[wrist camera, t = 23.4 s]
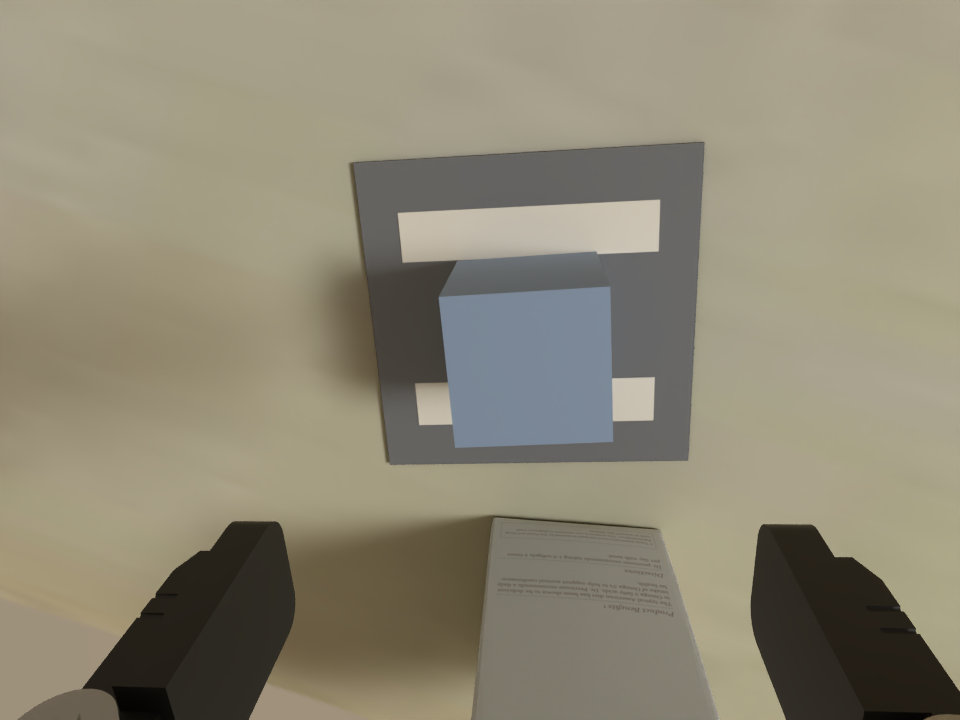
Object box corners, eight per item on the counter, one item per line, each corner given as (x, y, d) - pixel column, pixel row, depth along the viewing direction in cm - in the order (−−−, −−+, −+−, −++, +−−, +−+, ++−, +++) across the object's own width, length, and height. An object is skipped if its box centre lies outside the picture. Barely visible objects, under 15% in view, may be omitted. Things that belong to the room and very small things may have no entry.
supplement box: (482, 648, 31) (448, 978, 19) (491, 510, 29) (458, 796, 17) (644, 664, 31) (710, 1012, 19) (669, 526, 28) (762, 830, 16)
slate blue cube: (457, 260, 25) (438, 296, 20) (596, 251, 24) (610, 286, 19) (469, 387, 26) (455, 447, 22) (599, 381, 26) (613, 442, 21)
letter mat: (354, 162, 24) (352, 163, 24) (703, 142, 23) (704, 142, 23) (390, 462, 28) (389, 465, 28) (687, 458, 27) (688, 461, 27)
